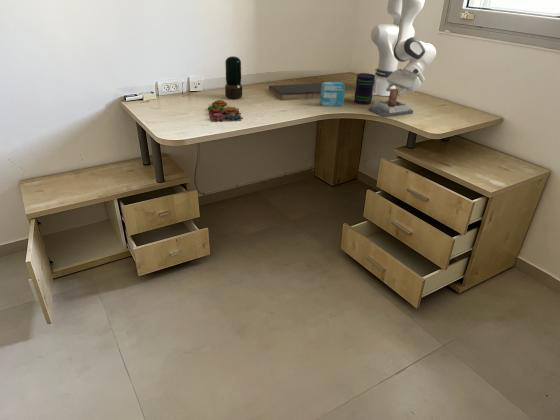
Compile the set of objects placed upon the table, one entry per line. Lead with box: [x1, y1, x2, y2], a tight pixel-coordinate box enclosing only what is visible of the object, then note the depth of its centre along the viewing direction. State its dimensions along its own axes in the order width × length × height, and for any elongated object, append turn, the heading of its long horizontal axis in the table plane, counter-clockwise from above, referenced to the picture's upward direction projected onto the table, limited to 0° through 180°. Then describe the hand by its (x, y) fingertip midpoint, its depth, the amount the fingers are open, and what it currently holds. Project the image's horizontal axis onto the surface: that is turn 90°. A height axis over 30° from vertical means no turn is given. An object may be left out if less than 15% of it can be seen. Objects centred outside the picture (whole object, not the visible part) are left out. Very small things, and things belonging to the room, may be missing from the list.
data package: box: [319, 81, 346, 107], centre depth 231 cm, size 12×4×12 cm, turn 98°
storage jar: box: [353, 72, 375, 106], centre depth 237 cm, size 10×10×15 cm
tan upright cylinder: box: [386, 88, 399, 107], centre depth 224 cm, size 7×7×10 cm
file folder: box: [268, 82, 323, 101], centre depth 252 cm, size 33×4×24 cm
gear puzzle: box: [207, 99, 244, 123], centre depth 216 cm, size 31×16×4 cm, turn 13°
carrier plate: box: [368, 99, 414, 118], centre depth 226 cm, size 13×19×4 cm
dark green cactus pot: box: [224, 55, 243, 100], centre depth 234 cm, size 10×10×22 cm
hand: (392, 93), depth 222 cm, fingers open, 8 cm apart
